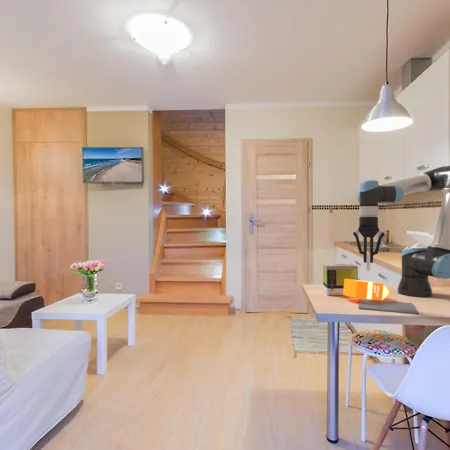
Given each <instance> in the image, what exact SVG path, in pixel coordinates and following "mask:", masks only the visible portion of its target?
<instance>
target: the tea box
mask: <svg viewBox="0 0 450 450" xmlns="http://www.w3.org/2000/svg"><path fill="white" fill-rule="evenodd" d="M322 271H323V272H322V273H323V275H322V276H323V278H322V281H323V282H322V283H323V285H322V287H323V288H322V289H323V292H324V293H325V294H326V296H344V295H343V291H344V280H345V279H352V280H359V268H358V265H355V264H354V263H323V264H322Z"/></svg>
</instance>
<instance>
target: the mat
mask: <svg viewBox="0 0 450 450" xmlns="http://www.w3.org/2000/svg"><path fill="white" fill-rule="evenodd" d="M357 299H358V301H357V302H358V304H357V305H358V309H359V310H367V311H377V312H378V311H379V312H391V313H400V314H413V315H419V311H418V310H417V309H416V307H415V306H414V304H413V303H412V302H404V301H402V302H401V301H392V300H382V301H381V300H373V299H361V298H357Z"/></svg>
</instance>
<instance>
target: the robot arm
mask: <svg viewBox="0 0 450 450" xmlns="http://www.w3.org/2000/svg"><path fill="white" fill-rule="evenodd" d="M434 191H435V192H436V191H437V192H438V191H441V192H442V194H443V198H442V202H441V206H440V209H439V210H440V211H439V215H438V217H437V218H438V219H437V223H436V226H435V232H434V235H433V239H432V243H430V244H429V245H427V247H409V248H403V249H402V252H401V278H400V280H399V283H398V286H397V293H398V294H400V295H403V296H408V297H409V296H410V297H418V298H419V297H420V298H421V297H422V298H425V297H426V298H428V297H432V296H433V289H432V287H431V284H430V280H429V277H433V278H436V279H443V280H447V279H450V165H445V166H440V167H439V166H438V167H436V168H434V169H431V170H428V171H425V172H421V173H418V174H417V175H416V176H413V177H409V178H405V179H401V180H397V181H394V182H388V183H384V184H380V185H379V181H378V180H375V179H373V180H372V179H371V180H370V179H369V180H362V181H360V182H359V191H358V192H357V194H356V197H357V201H358V202H359V208H358V211H359V218H358V219H359V222H358V223H359V225H358V229H357V230H356V231H353V232H352V234H353V236H354V238H355V240H356V245H357V248H358V252H359V254H360V255H362V256H363V263H364V264H365V266H366V267H365V268H366V269H365V270H366V271H368V272H369V271H371V264H373V263H374V256H375V255H378V254H379V249H380V247H381V243H382V240H383V238H384V236H385V232H383V231H381V230H380V228H379V217H378V216H379V204H398V203H400V202H402V200H403V199H404V196H406V195H410V194H415V193H419V192H421V193H427V192H434ZM377 234H378V238H377V241H376V245H375V249H374V238H375V236H376V235H377ZM359 235H361V236H362V237H363V250H362V246H361V241H360V238H359ZM368 238H369V254H368V253H367V252H368V249H367V248H368Z"/></svg>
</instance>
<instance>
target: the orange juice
mask: <svg viewBox="0 0 450 450" xmlns="http://www.w3.org/2000/svg"><path fill="white" fill-rule="evenodd" d="M391 294H393V292H391V290H390V289H389V288H388V287H387V286H386V285H385V284H384V283H381V282H376V281H370V280H359V279H358V280H352V279H345V280H344V291H343V295H342V296H347V297H350V298H353V299H354V298H355V299H367V300H380V301H384V300H385V299H387V298H388V297H389V296H390V295H391Z"/></svg>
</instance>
